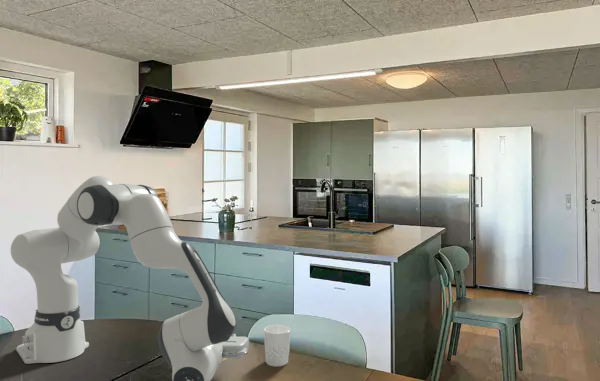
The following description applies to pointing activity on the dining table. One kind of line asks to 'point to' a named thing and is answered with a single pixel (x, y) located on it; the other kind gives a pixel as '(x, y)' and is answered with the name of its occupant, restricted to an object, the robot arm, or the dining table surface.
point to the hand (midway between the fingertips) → (217, 336)
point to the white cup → (277, 344)
